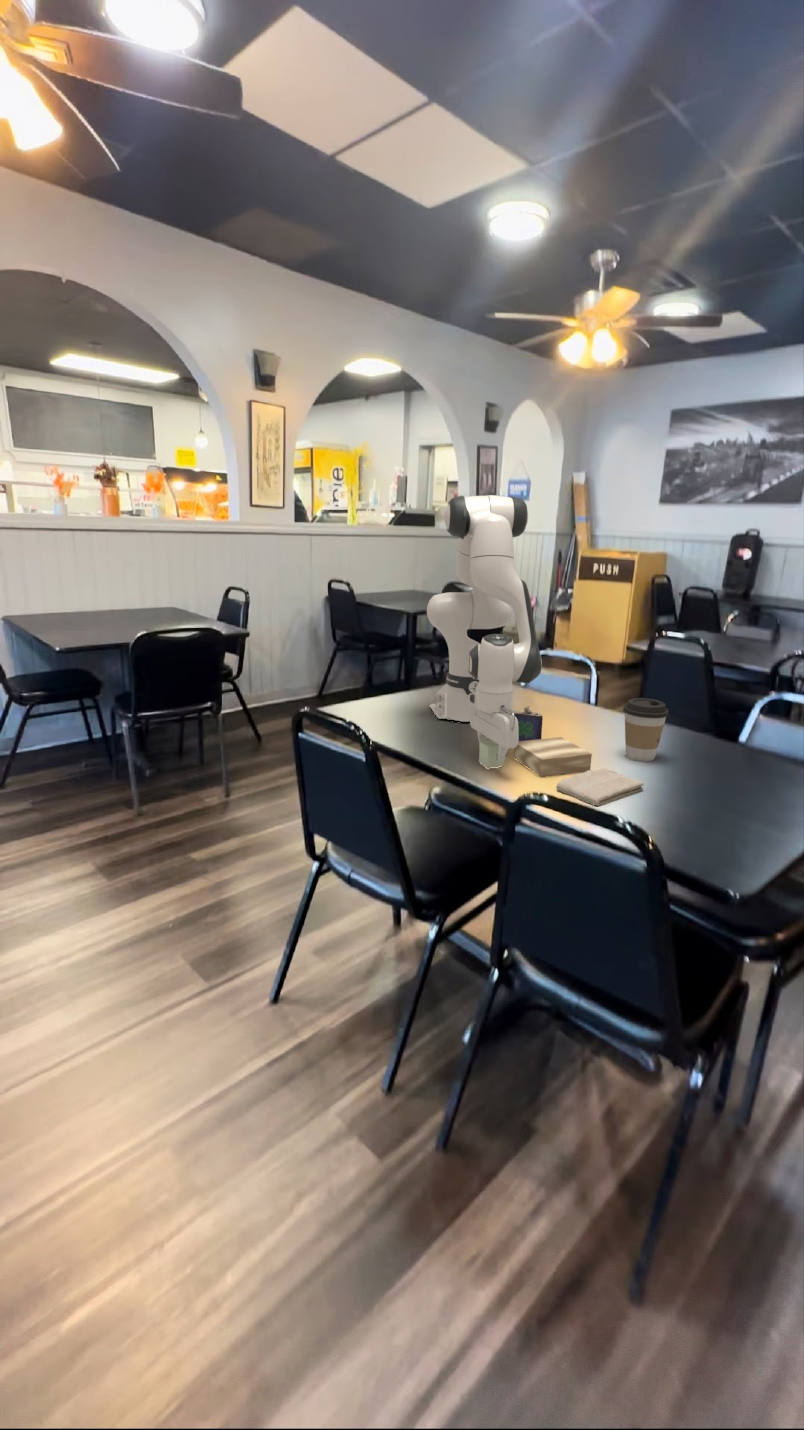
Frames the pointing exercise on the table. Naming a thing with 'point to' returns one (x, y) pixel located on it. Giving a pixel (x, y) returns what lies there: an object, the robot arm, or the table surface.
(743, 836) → the table surface
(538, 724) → the dark blue flattened pouch
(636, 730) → the coffee cup
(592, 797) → the washcloth
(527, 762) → the birch block
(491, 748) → the sage block
